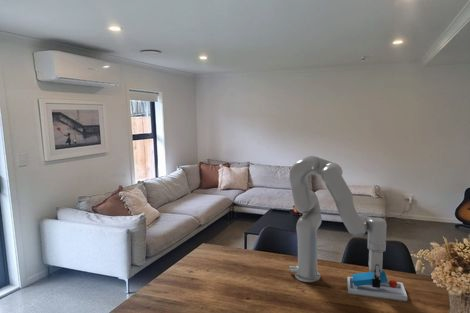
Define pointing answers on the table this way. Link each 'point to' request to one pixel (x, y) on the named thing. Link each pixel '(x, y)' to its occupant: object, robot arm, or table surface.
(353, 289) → the tray
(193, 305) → the table surface
